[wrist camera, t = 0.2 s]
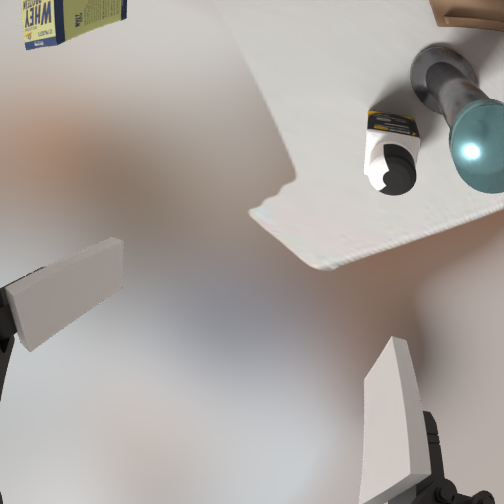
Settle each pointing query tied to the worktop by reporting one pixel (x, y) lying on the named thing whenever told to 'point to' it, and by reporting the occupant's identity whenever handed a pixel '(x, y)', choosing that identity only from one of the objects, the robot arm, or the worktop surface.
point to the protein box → (66, 19)
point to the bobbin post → (463, 116)
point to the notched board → (469, 13)
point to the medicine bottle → (391, 152)
